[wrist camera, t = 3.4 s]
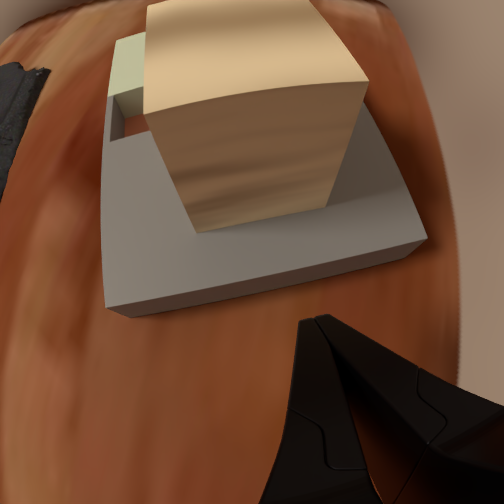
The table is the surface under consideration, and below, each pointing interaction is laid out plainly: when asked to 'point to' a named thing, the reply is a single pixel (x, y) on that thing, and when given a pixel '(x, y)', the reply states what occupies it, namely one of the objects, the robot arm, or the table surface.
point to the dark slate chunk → (16, 109)
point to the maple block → (248, 106)
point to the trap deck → (237, 236)
